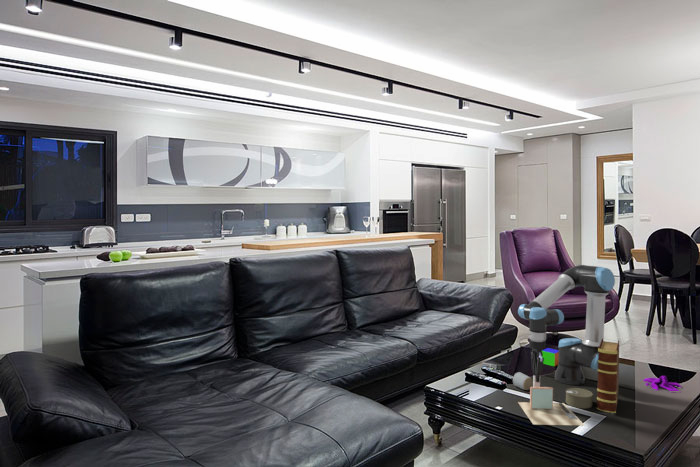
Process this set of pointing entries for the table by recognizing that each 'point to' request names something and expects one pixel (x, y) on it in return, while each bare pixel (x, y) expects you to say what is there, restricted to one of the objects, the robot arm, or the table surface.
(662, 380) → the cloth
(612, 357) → the decorative book
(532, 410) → the board
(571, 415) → the turner
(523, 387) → the grey cylinder
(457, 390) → the table surface
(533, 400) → the tile
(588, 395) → the beige short cylinder
